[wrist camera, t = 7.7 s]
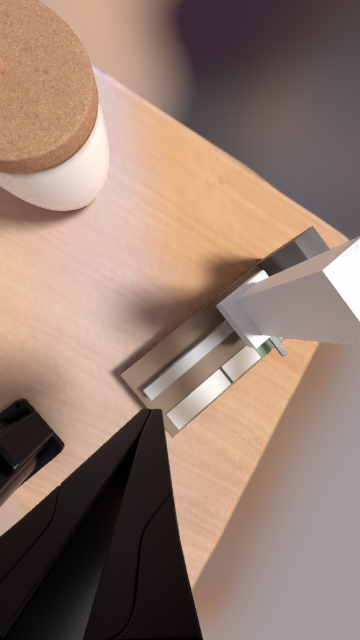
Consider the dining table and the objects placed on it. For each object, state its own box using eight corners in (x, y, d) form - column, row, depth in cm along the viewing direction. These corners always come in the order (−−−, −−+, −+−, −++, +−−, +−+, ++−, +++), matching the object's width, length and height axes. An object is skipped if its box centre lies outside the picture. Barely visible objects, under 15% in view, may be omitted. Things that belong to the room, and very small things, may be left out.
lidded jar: (113, 241, 18) (59, 151, 9) (4, 219, 17) (-193, 90, 7) (130, 146, 18) (96, -39, 9) (25, 119, 17) (-138, -122, 8)
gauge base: (171, 428, 18) (176, 487, 11) (123, 370, 18) (100, 398, 11) (303, 312, 20) (372, 306, 13) (262, 258, 19) (312, 225, 13)
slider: (265, 370, 17) (409, 436, 7) (214, 306, 16) (292, 279, 7) (301, 338, 17) (483, 357, 7) (253, 275, 17) (377, 207, 7)
